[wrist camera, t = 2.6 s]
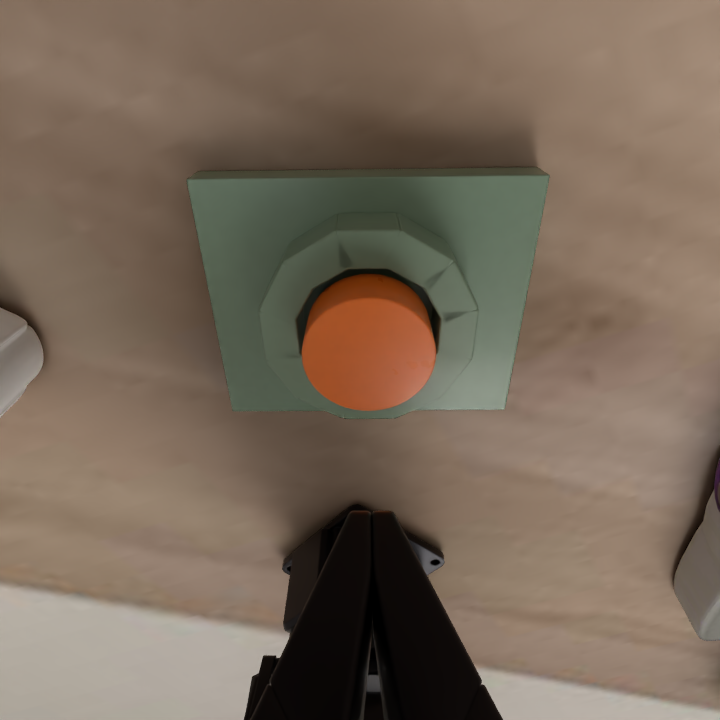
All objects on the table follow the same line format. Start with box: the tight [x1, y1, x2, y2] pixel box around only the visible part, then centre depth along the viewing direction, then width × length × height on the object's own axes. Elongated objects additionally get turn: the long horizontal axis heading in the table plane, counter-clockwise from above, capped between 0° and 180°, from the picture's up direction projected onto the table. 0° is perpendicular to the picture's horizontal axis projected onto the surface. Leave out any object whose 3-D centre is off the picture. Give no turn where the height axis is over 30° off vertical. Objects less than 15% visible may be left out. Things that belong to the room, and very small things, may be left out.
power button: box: [302, 274, 436, 411], centre depth 15 cm, size 4×4×2 cm
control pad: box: [187, 167, 550, 419], centre depth 17 cm, size 11×9×3 cm
